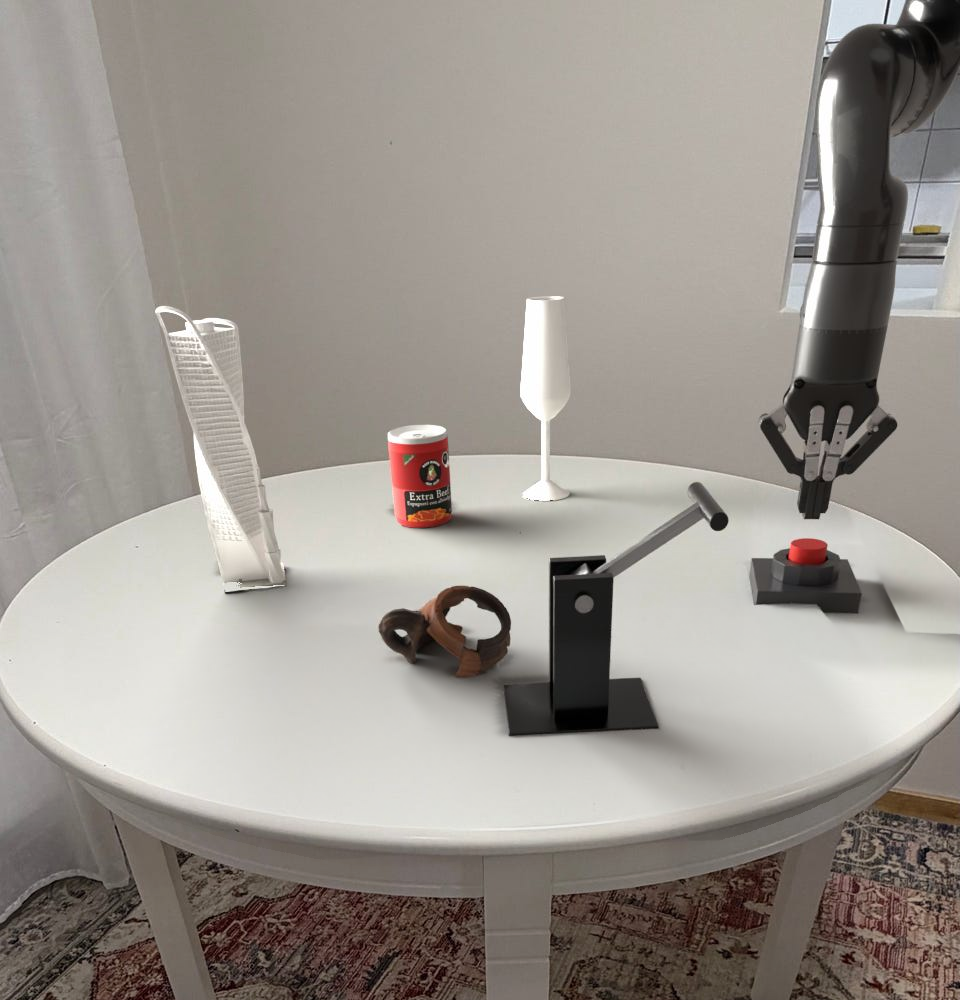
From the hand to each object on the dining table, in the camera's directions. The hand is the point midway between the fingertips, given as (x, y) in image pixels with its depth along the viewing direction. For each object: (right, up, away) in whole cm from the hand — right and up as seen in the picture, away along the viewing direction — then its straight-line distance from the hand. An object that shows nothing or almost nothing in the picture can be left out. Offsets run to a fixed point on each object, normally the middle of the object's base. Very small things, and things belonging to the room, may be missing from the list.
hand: (810, 517), depth 95 cm
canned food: (-41, +11, +32) cm, 53 cm away
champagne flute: (-24, +17, +39) cm, 49 cm away
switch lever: (-20, -12, -22) cm, 32 cm away
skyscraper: (-60, -2, +16) cm, 62 cm away
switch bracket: (-25, -22, -15) cm, 36 cm away
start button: (0, -4, +3) cm, 4 cm away
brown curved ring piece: (-36, -16, -6) cm, 40 cm away
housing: (+1, -6, +5) cm, 8 cm away
